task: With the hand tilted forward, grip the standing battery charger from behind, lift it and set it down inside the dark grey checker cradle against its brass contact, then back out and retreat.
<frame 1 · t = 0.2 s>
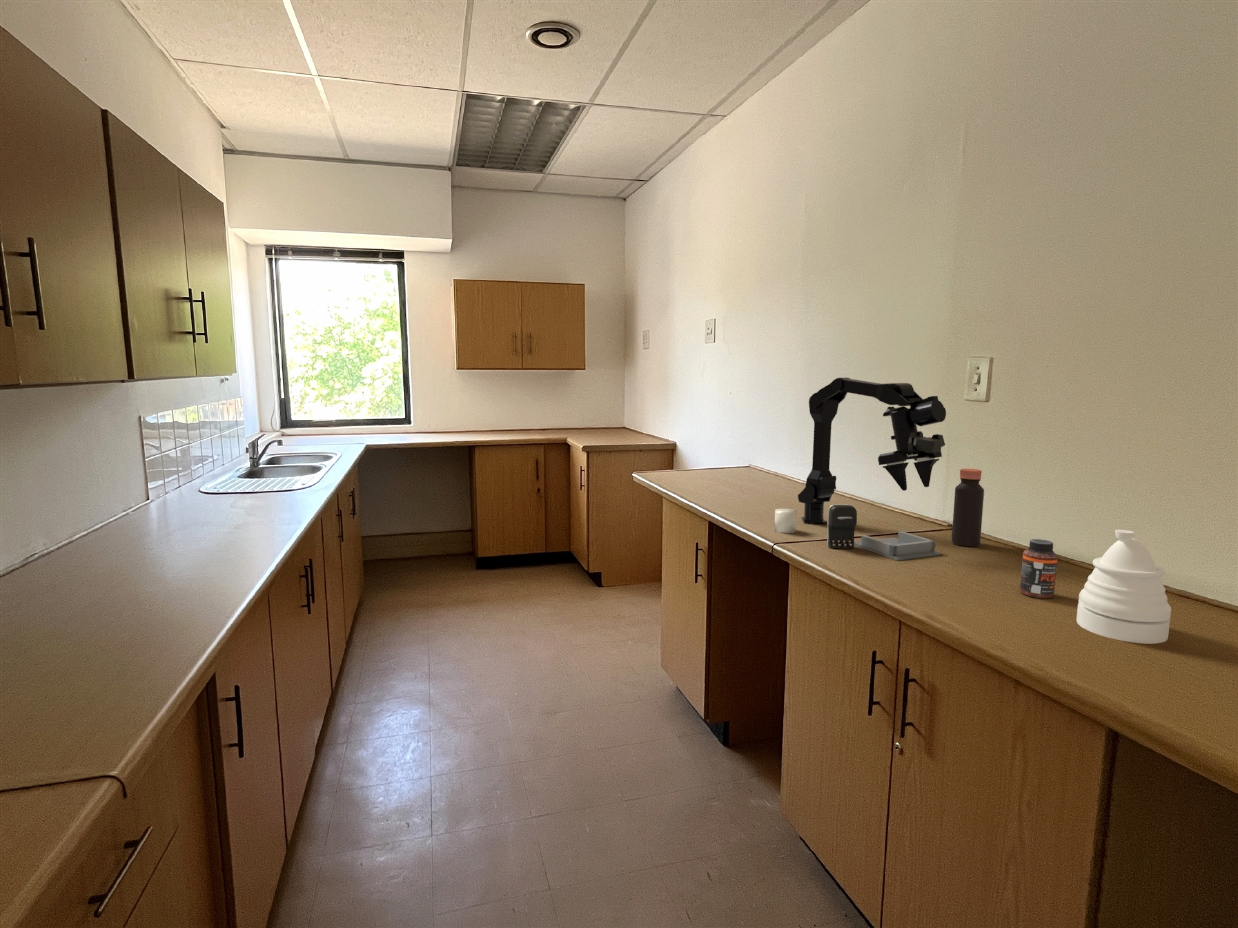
hand: (915, 488, 166), 15 cm above the worktop, tool tilted 15°, fingers open, 9 cm apart
honey pot: (1120, 629, 113), on the worktop
white rounded cube: (785, 530, 185), on the worktop
vinegar: (965, 544, 170), on the worktop
cradle: (895, 549, 165), on the worktop
supplement bottle: (1036, 595, 131), on the worktop
battery charger: (841, 548, 167), on the worktop
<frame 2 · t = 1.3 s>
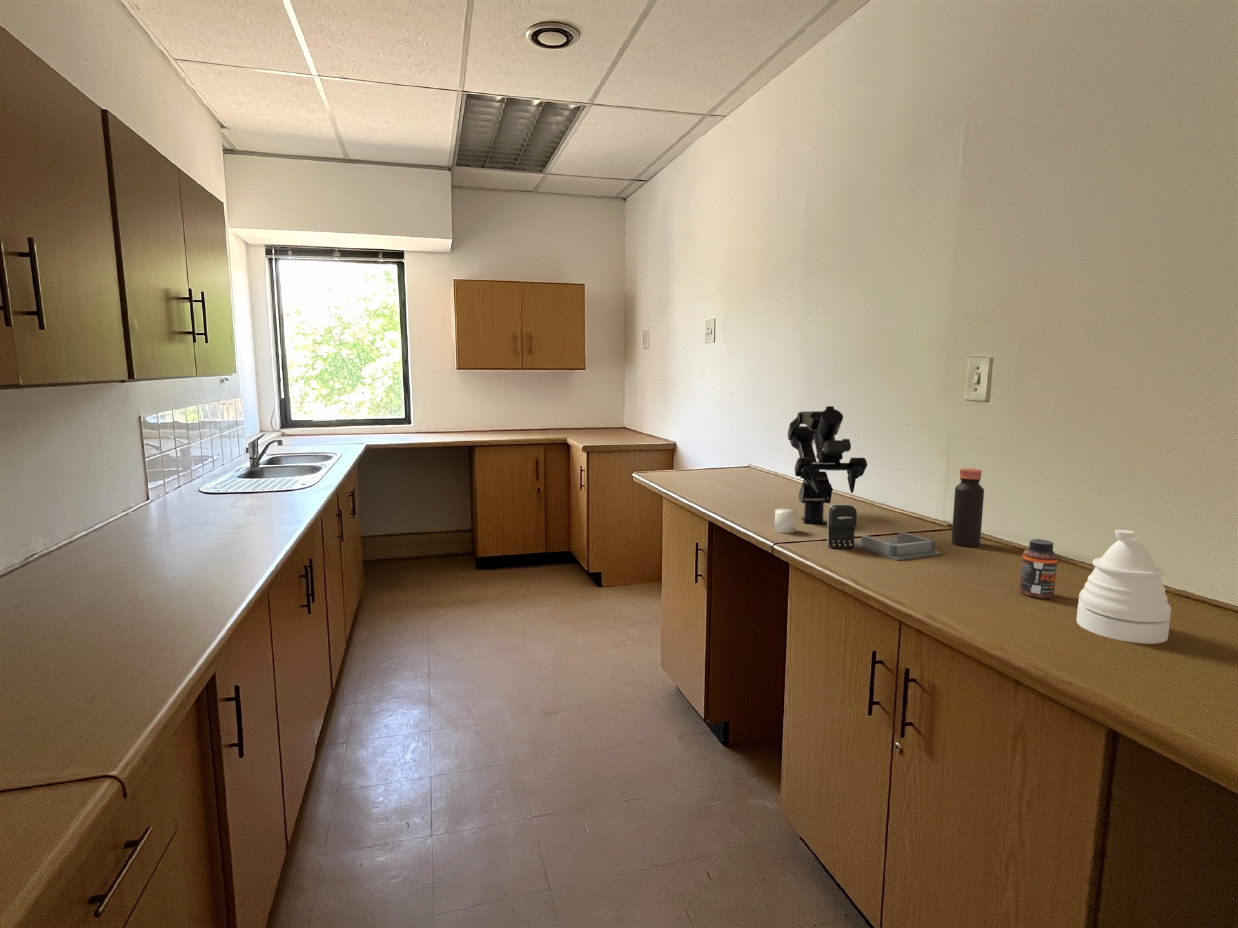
hand: (835, 492, 173), 13 cm above the worktop, tool tilted 45°, fingers open, 9 cm apart
nothing on the worktop moved.
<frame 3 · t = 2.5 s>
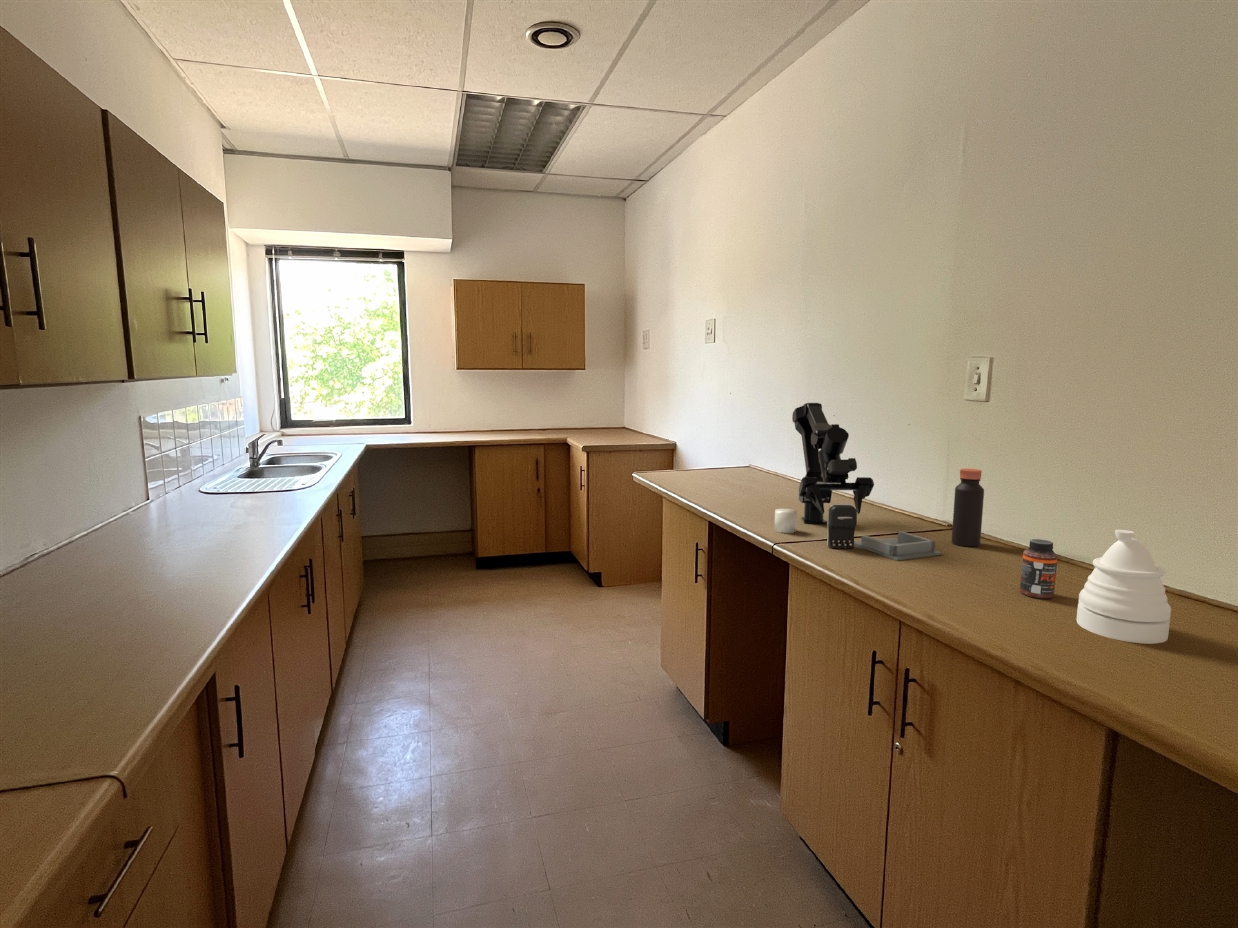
hand: (841, 513, 167), 9 cm above the worktop, tool tilted 45°, fingers open, 9 cm apart
nothing on the worktop moved.
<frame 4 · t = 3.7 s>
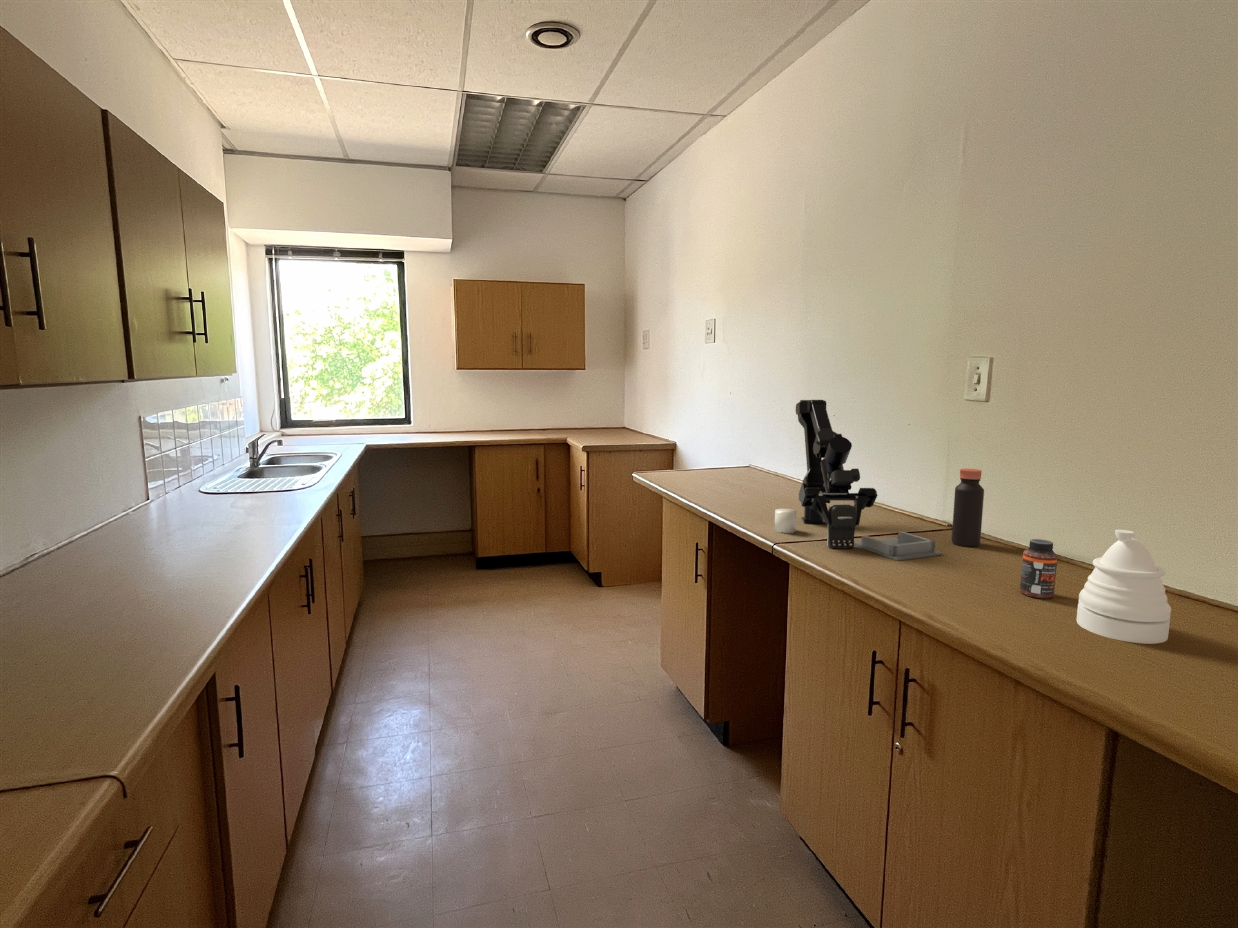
hand: (843, 524, 165), 7 cm above the worktop, tool tilted 45°, fingers closed on battery charger, 7 cm apart
battery charger: (841, 548, 167), on the worktop, touching gripper
everything else where it was.
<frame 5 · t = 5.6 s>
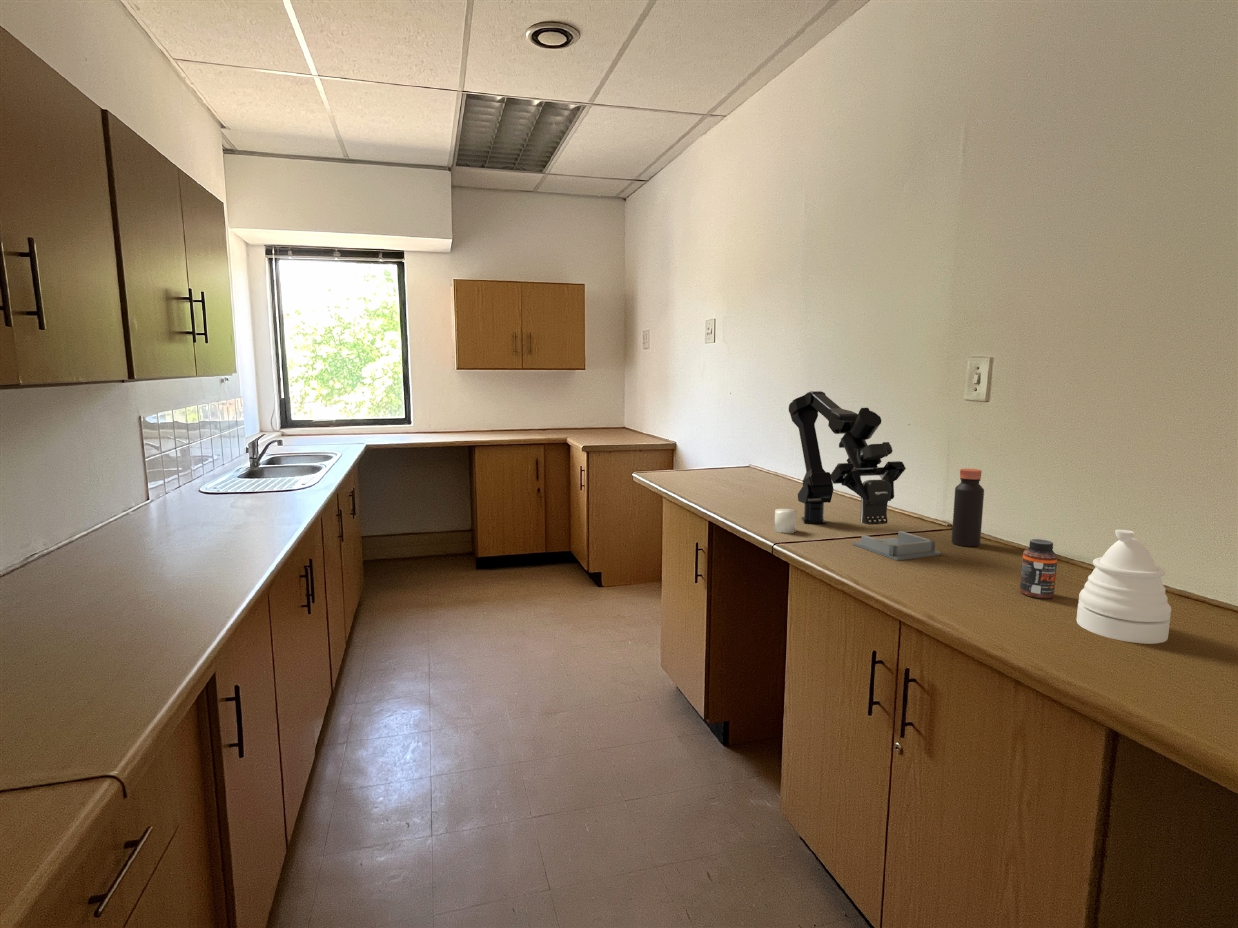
hand: (879, 498, 162), 14 cm above the worktop, tool tilted 45°, fingers closed on battery charger, 7 cm apart
battery charger: (875, 524, 164), point 7 cm above the worktop, touching gripper
everything else where it was.
when the fingers open (8 cm above the worktop, at t = 7.4 s): battery charger stays where it is, resting on cradle.
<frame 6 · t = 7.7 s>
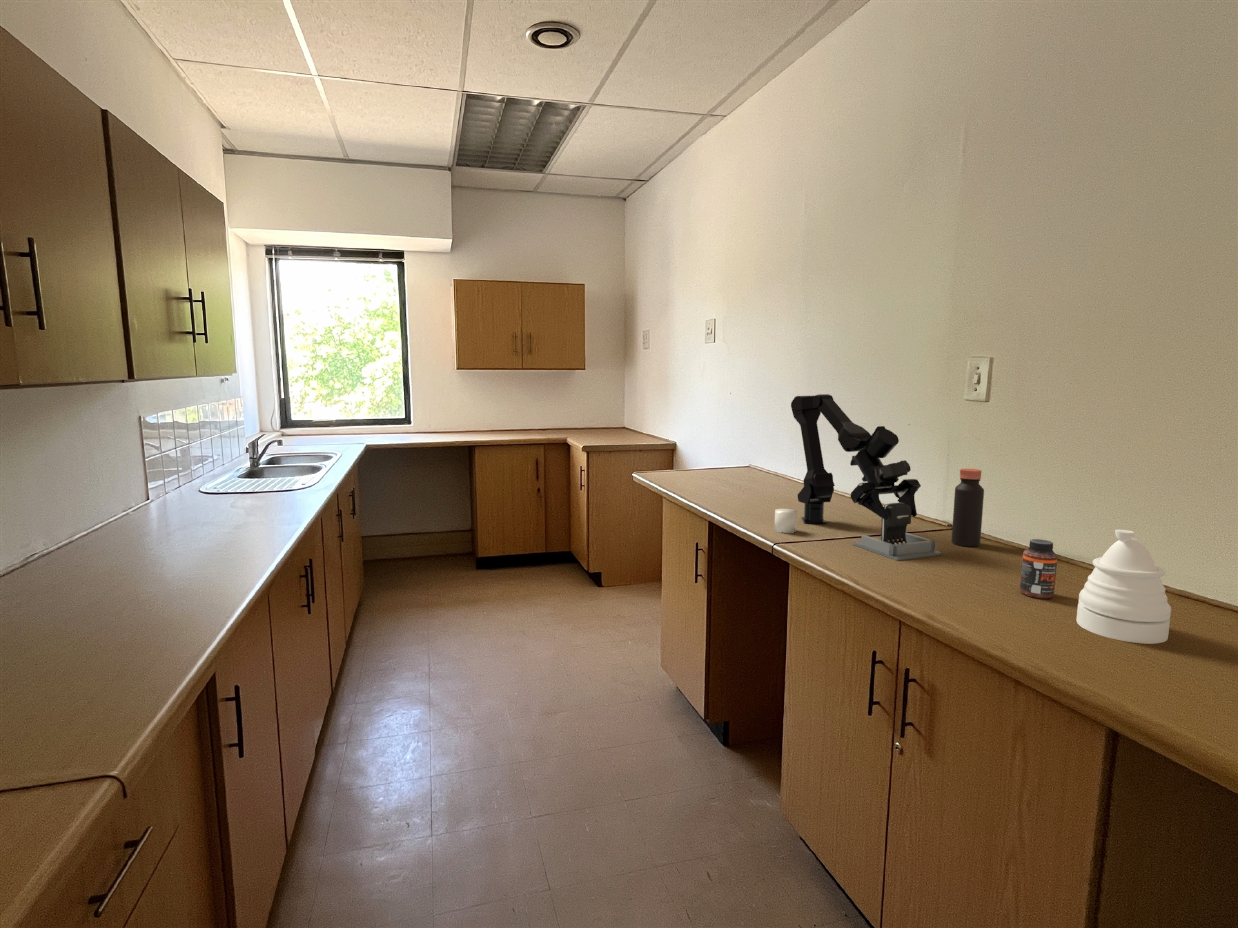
hand: (901, 517, 162), 9 cm above the worktop, tool tilted 45°, fingers open, 9 cm apart
battery charger: (895, 547, 165), resting on cradle
everything else where it was.
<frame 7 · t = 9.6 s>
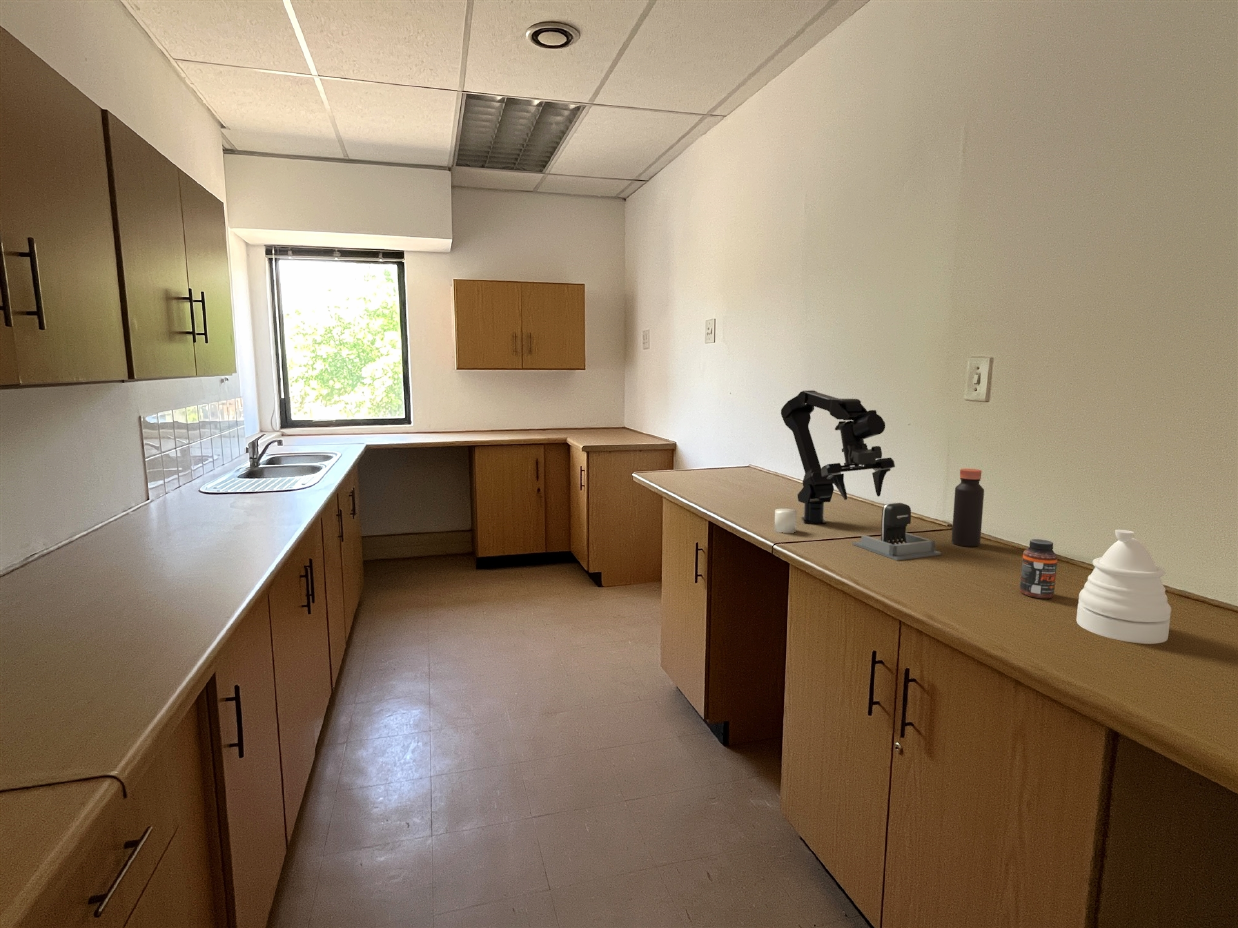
hand: (862, 498, 175), 11 cm above the worktop, tool tilted 20°, fingers open, 9 cm apart
nothing on the worktop moved.
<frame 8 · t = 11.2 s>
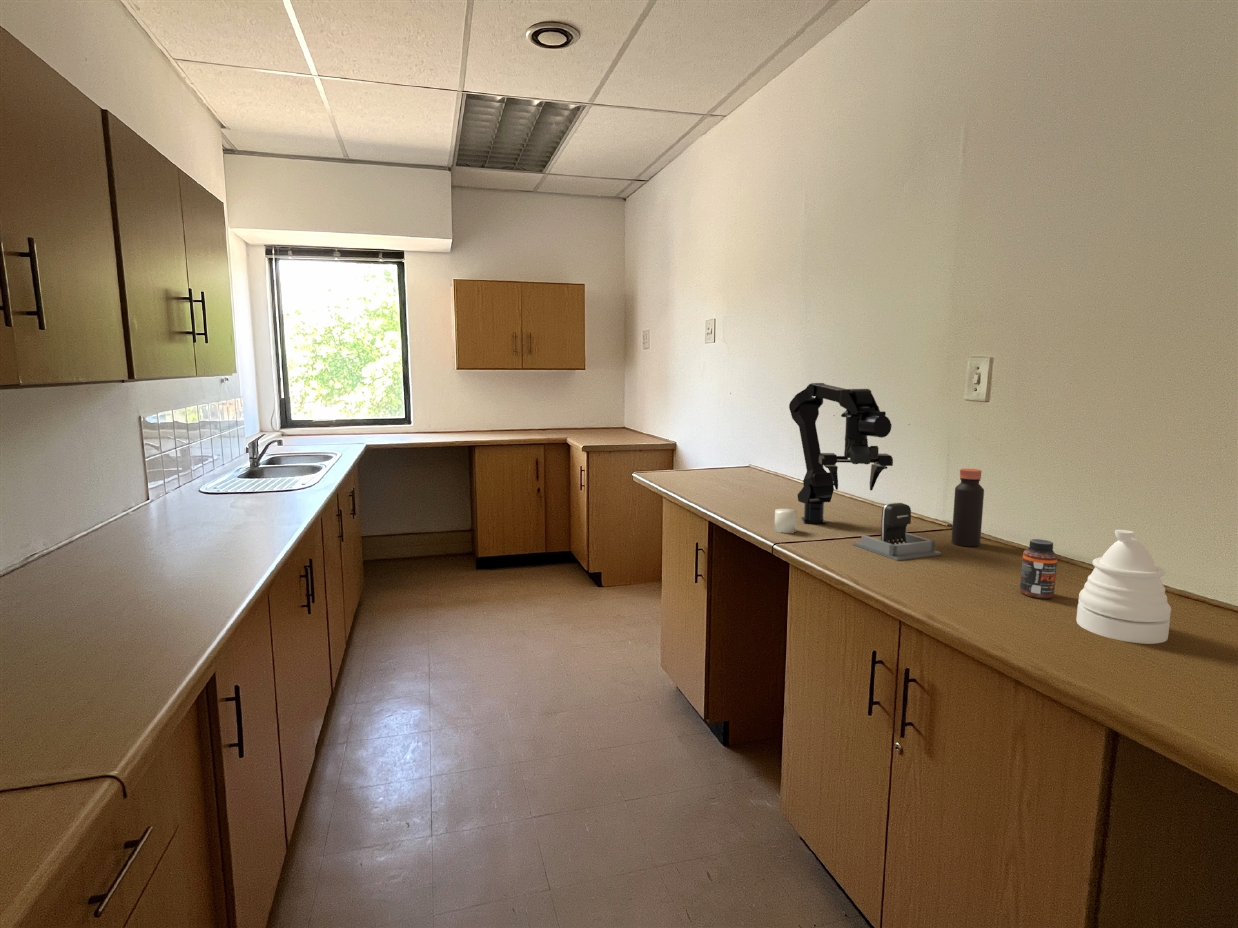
hand: (853, 489, 178), 13 cm above the worktop, tool pointing down, fingers open, 9 cm apart
nothing on the worktop moved.
at the end: battery charger 0.2 cm from the cradle (horizontally); battery charger tilted 0°; the gripper is holding nothing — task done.
